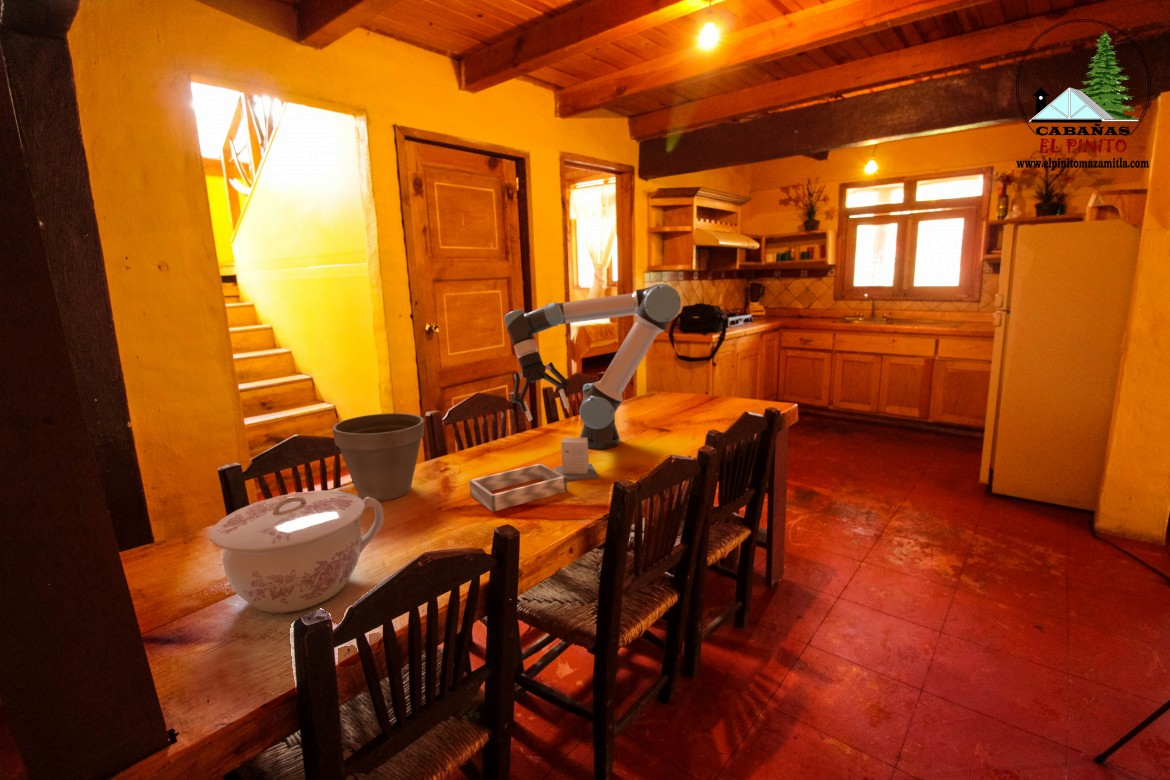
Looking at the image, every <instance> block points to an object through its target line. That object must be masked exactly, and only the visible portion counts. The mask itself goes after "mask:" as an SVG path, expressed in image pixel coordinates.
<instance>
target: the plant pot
mask: <svg viewBox="0 0 1170 780" xmlns="http://www.w3.org/2000/svg"><path fill="white" fill-rule="evenodd" d="M332 432H333V439H334V444H335V446H336V447H338V448H339V450H340V453H341V455H342V458H343V460H344V463H345V466H346V469H347V471H348V473H349V477H350V478H351V482H352V483H353V486H354V488H355V490H356V492H357V496H358V497H360V498H361V499H363V500H364V498H365V497H371V498H374V499H375V500H377V501H378V502H384V501H390V500H395V499H397V498H401V497H403V496H405V495H407V494H408V493H409V492H410V490H411V487H412V483H413V478H414V474H415V470H416V467H417V460H418V457H419V456H418V455H419V450H420V445H421V440H422V439H423V438H424V436H425V420H424V417H422V416H420V415H417V414H411V413H401V412H393V413H388V412H386V413H375V414H367V415H360V416H355V417H351V418H347V419H344V420H342V421H341V420H340V421H339V422H337V423H335V424H334V425H333V426H332Z"/></svg>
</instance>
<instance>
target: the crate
mask: <svg viewBox="0 0 1170 780" xmlns="http://www.w3.org/2000/svg"><path fill="white" fill-rule="evenodd" d="M540 479H541V480H542V481H540V482H536V483H532V484H528V485H524V486H521V487H516V488H512V489H508V490H504V491H501V492H500V491H499V492H497V493H492V492H493V491H497V490H500V489H503V488H509V487H512V486H515V485H520V484H524V483H528V482H531V481H537V480H540ZM468 481H469V492H470V493H469V494H470V496H472V498H474V499H475V500H477V501H478V502H479V503H481V504H482V505H483V507H484V506H485V507H486V508H487V509H488V510H489V511H491V512H493V513H494V512H497V511H500V510H504V509H507V508H512V507H516V506H518V505H522V504H523V505H524V504H526V503H529V502H533V501H537V500H541V499H544V498H548V497H551V496H554V495H558V494H562V493H566V492H568V481H567V477H566V476H564V475H562V474H560V473H558V472H557V471H556V469H555V470H554V469H553V468H551V467H549V466H547V465H545V464H543V463H536V464H531V465H529V466H528V465H527V466H523V467H520V468H515V469H511V470H507V471H502V472H499V473H494V474H490V475H489V474H488V475H486V476H482V477H477V478H472V479H469V480H468Z"/></svg>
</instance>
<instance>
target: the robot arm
mask: <svg viewBox="0 0 1170 780" xmlns="http://www.w3.org/2000/svg"><path fill="white" fill-rule="evenodd" d="M681 304H682V301H681V296H680V294H679V292H678V290H677V289H675V288H674V287H673V286H671V285H669V284H665V283H657V284H654V285H651V286H648V287H644V288H639V289H635V290H634V291H633V292H631V293H625V294H617V295H611V296H603V297H597V298H596V297H595V298H594V297H593V298H587V299H580V300H574V301H573V300H572V301H565V302H559V303H558V302H556V301H555V302H552V303H547V304H546V305H544V306H542V307H539V308H537V309H535V310H532V311H530V312H525V310H524V309H520V308H519V309H515V310H512V311H509V312H508V313H506V314H505V315H504V317H503V318H504V319H503V320H504V323H505V328H506V330H507V333H508V335H509V338H510V341H511V344H512V345H513V349H514V352H515V355H516V357H517V358H518V363H519V367H520V368H521V372H516V373H514V374H513V378H514V387H513V388H514V389H513V395H512V403H513V404H519V407H520V409H521V411H522V413H525V414H526V417H527V420H528V422H530V421H532V420H533V416H532V414H531V411H530V409H529V405H528V402H527V400H525V398H526V395H527V392H528V389H529V387H530V384H531V383H535V382H538V381H541V380H545V381H547V382H548V383H550V384H552V385H554V386H555V387H557V388H558V389H559V390H558V393H559V394H560V398H561V401H562V403H563V406H564V409H568V408H570V404H569V401H568V398H569V394H568V390H567V387H568V386H569V385H570V381H568V380H567V378H565V377H564V375H563V374H562V373H560V371H559V370H558V369H557V368H556V367H555V365H554V363H553V362H552V361H551V362H549V363H547V364H544V361H543V360H542V356H541V354H540V352H539V348H538V345H537V343H536V340H535V338H534V335H536V334H538V333H540V332H543V331H546V330H549V329H551V328H553V327H557V326H559V325H564V324H572V323H578V322H579V323H580V322H586V321H587V322H589V321H596V320H603V319H604V320H605V319H612V318H617V317H627V316H635V321H634V323H633V325H632V326H631V328H630V329H629V331H628V334H627V335H626V337H625V338H624V340H623V342H622V344H621V345H620V347H619V348H618V350H617V352H616V353H615V354H614V357H613V359H612V360H611V362H610V363H609V365H608V367H607V369H606V370H605V372H604V373H603V375H602V377H601V378H600V380H598V381H595V382H594V381H593V382H591V383H590V382H589V383H588V382H587V383H585V384H583V386H582V395H583V396H582V398H583V399H582V400H581V404H580V406H579V409H578V410H579V411H578V412H579V416H580V419H581V421H582V423H583V425H582V428H581V432H580V435H579V438H588V449H590V450H591V449H594V450H605V449H606V450H607V449H611V448H615V447H618V446H619V445H620V444H621V441H620V439H621V438H620V434H619V430H618V428H617V426H616V416H615V415H616V412H617V411H618V409H619V407H620V405H621V404H622V402H623V400H624V399H623V398H624V397H623V395H622V394H623V392H624V390H625V389H626V387H627V386H628V383H629V382H630V381H631V378H633V375H634V374H635V372H636V370H637V369H638V367H639V365H640V364H641V362H642V361H643V359H644V357H645V356H646V354H647V353H648V351H649V349H650V348H651V346H652V344H653V342H654V341H655V339H656V338H657V336H658V335H659V334H660V333H664V332H665V331H666V330H667V329H668V327H669V325H670V323H671V322H672V320H673V319H675V317H677V315H678V314H679V312H680V310H681ZM547 370H548V371H549V372H551V374H552V375H553V376H554V377H555V378H554V377H553V376H551V375H550V374H549V373H547V372H546V371H547ZM522 378H524V379H525V382H524V385H523V388H522V390H521V393H520V396H519V391H520V384H521V379H522ZM524 400H525V401H524Z"/></svg>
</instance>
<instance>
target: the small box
mask: <svg viewBox="0 0 1170 780" xmlns="http://www.w3.org/2000/svg"><path fill="white" fill-rule="evenodd" d="M560 444H561V446H560V447H561V463H562V464H561V466H562V470H563V474H587V472H588V468H589V464H590V463H589V448H588V438H580V437H563V438H562V440H561V443H560Z"/></svg>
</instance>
